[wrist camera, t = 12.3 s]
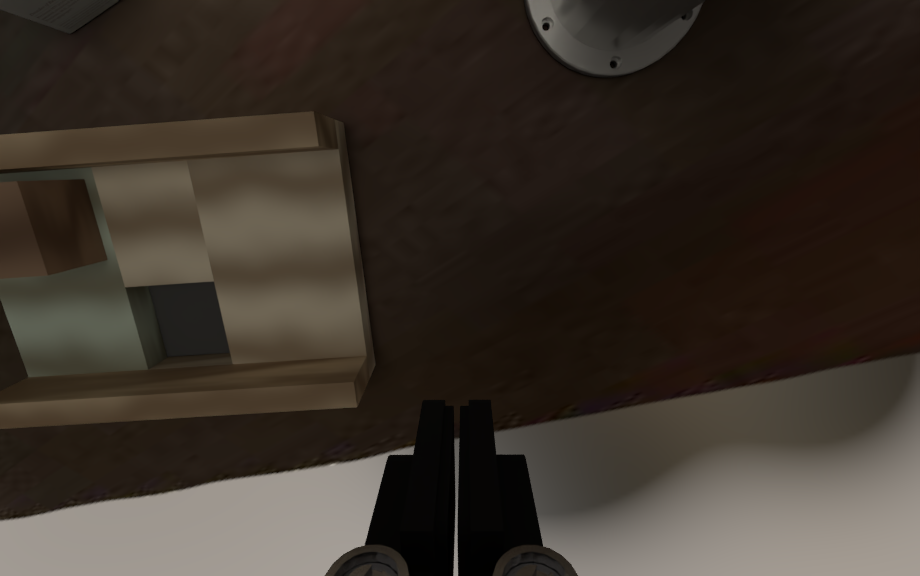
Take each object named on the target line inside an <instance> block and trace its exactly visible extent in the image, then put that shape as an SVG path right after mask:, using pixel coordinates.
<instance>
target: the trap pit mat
mask: <svg viewBox="0 0 920 576" xmlns="http://www.w3.org/2000/svg"><path fill="white" fill-rule="evenodd" d="M149 290H150V294H151V297H152V301H153V305H154V308H155V312H156V316H157V320H158V323H159V327H160V331H161V335H162V338H163V342H164V346H165V349H166V353H167V357H170V356H186V355H201V354H217V353H230V350H229V345H228V341H227V337H226V332H225V328H224V323H223V319H222V315H221V310H220V306H219V301H218V297H217V292H216V288H215V284H214V281H212V282H197V283H182V284H167V285H152V286H149Z"/></svg>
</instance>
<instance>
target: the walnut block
mask: <svg viewBox="0 0 920 576" xmlns="http://www.w3.org/2000/svg"><path fill="white" fill-rule="evenodd" d="M106 260H108V259H107V255H106V252H105V249H104V245H103V242H102V238H101V235H100V231H99V228H98V224H97V221H96V218H95V214H94V211H93V207H92V204H91V200H90V197H89V193H88V190H87V186H86V183H85V180H84V179H71V180H38V181H12V182H0V279H5V278H20V277H34V276H48V275H52V274H56V273H60V272H64V271H67V270H71V269H75V268H79V267H83V266H86V265H90V264H94V263H98V262H102V261H106Z"/></svg>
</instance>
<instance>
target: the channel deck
mask: <svg viewBox="0 0 920 576" xmlns="http://www.w3.org/2000/svg"><path fill="white" fill-rule="evenodd" d="M71 179H84V180H85V183H86V186H87V190H88V193H89V197H90V200H91V204H92V207H93V211H94V214H95V218H96V221H97V224H98V228H99V231H100V235H101V238H102V242H103V245H104V249H105V252H106V255H107V259H108V260H106V261H102V262H98V263H94V264H90V265H86V266H83V267H79V268H75V269H71V270H67V271H64V272H60V273H56V274H52V275H48V276H34V277H20V278H5V279H0V299H1V302H2V305H3V308H4V310H5V313H6V316H7V319H8V321H9V324H10V327H11V330H12V332H13V335H14V338H15V341H16V343H17V346H18V349H19V351H20V354H21V357H22V360H23V362H24V365H25V368H26V371H27V373H28V376H29V377H28V378H26V379H24V380H22V381H20V382H18V383H16V384H14V385H12V386H10V387H8V388H6V389H4V390H1V391H0V429H7V428H23V427H40V426H56V425H72V424H89V423H105V422H121V421H138V420H154V419H171V418H187V417H203V416H220V415H236V414H252V413H269V412H285V411H302V410H318V409H334V408H351V407H358V404H359V402H360V400H361V397H362V395H363V393H364V390H365V388H366V386H367V384H368V381H369V379H370V377H371V374H372V372H373V370H374V367H375V365H376V364H375V357H374V349H373V342H372V334H371V326H370V319H369V311H368V304H367V296H366V288H365V281H364V273H363V266H362V258H361V250H360V243H359V235H358V228H357V220H356V212H355V205H354V197H353V190H352V182H351V175H350V167H349V159H348V152H347V144H346V137H345V129H344V123H343V122H340V121H338V120H335V119H332V118H330V117H327V116H324V115H322V114H319V113H317V112H314V111H312V112H299V113H285V114H272V115H259V116H245V117H232V118H219V119H205V120H192V121H179V122H165V123H152V124H139V125H125V126H112V127H99V128H85V129H72V130H59V131H45V132H32V133H19V134H5V135H0V182H12V181H38V180H71ZM212 281H214V284H215V288H216V292H217V297H218V301H219V306H220V310H221V315H222V319H223V323H224V328H225V332H226V337H227V341H228V345H229V350H230V353H220V354H205V355H189V356H174V357H167V353H166V349H165V346H164V342H163V338H162V335H161V331H160V327H159V323H158V320H157V316H156V312H155V308H154V305H153V301H152V297H151V294H150V290H149V286H152V285H167V284H182V283H197V282H212Z"/></svg>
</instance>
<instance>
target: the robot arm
mask: <svg viewBox="0 0 920 576" xmlns="http://www.w3.org/2000/svg"><path fill="white" fill-rule="evenodd" d="M704 1H705V0H524V3H525V8H526V13H527V16H528V19H529V21H530V24H531V27H532V29H533V32H534V33H535V35H536V36H537V38H538V39H539V41H540V43H541V44H542V46H543V47H544V48H545V49H546V50H547V51H548V52H549V53H550V55H551V56H552V57H553V58H554V59H556V60H557V61H558V62H560V63H561V64H563V65H564V66H566V67H567V68H569V69H571V70H574V71H576V72H578V73H581V74H583V75H588V76H594V77H618V76H622V75H627V74H631V73H634V72H636V71H638V70H640V69H643V68H645V67H647V66H649V65H651V64H652V63H654V62H655V61H657V60H659V59H661V58H662V57H663V56H664V55H665V54H667V53H668V52H669V51H670V50H671V49H673V48H674V47H675V46H676V45H677V44H678V42H679V41H680V40H681V39H682V38H683V37H684V36H685V34H686V33H687V32H688V30H689V29H690V27H691V26H692V24H693V23H694V21H695V20H696V18H697V16H698V14H699V11H700V9H701V6H702V4H703V2H704ZM682 16H683V20H682V18H681V17H682ZM544 24H546V25H547V26H548V28H549V29H548V30H547V31H544V30H543V29H542V25H544ZM610 62H613V63H614V64H615V67H614V68H611V67H610ZM459 444H460V445H459V447H460V448H459V487H458V488H459V489H458V576H578V575H577V573H576V572H575V570H574V568H573V567H572V565H571V564H570V563H569V562H568V561H567V560H566V559H565V558H564V557H563V556H562V555H560V554H559V553H557V552H555V551H553V550H551V549H550V548H546V547H543V544H542V539H541V533H540V528H539V523H538V518H537V513H536V508H535V503H534V498H533V493H532V488H531V483H530V478H529V473H528V468H527V463H526V459H525V456H524V455H496V449H495V439H494V429H493V419H492V410H491V400H469V406H460V442H459ZM454 534H455V456H454V407H453V406H445V400H423V403H422V409H421V414H420V420H419V426H418V431H417V437H416V443H415V448H414V454H413V455H390V456H388V459H387V462H386V466H385V470H384V474H383V477H382V482H381V485H380V489H379V493H378V497H377V501H376V504H375V508H374V512H373V516H372V520H371V523H370V527H369V531H368V535H367V539H366V542H365V546H361V547H358V548H355V549H353V550H351V551H349V552H347V553H345V554H343V555H342V556H341V557H340V558H339V559H338V560H337V561H336V562H334V564H333V565H332V566H331V567H330V569H329V570H328V572H327V573H326V575H325V576H453V568H454Z"/></svg>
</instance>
